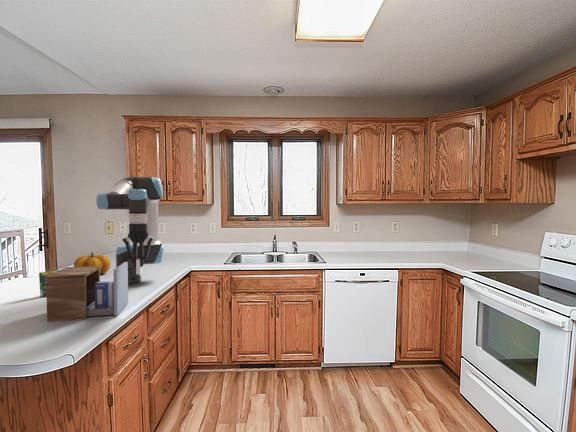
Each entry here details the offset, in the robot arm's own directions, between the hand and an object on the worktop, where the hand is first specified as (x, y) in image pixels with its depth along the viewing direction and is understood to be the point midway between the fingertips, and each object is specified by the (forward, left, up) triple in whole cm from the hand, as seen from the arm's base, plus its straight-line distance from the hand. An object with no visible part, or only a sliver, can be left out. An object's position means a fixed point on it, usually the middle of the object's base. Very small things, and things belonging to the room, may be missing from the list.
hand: (138, 273), depth 139 cm
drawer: (0, -14, -16) cm, 21 cm away
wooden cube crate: (0, -26, -16) cm, 31 cm away
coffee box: (-31, -50, -17) cm, 61 cm away
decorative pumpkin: (-77, -46, -17) cm, 91 cm away
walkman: (0, -14, -15) cm, 21 cm away
